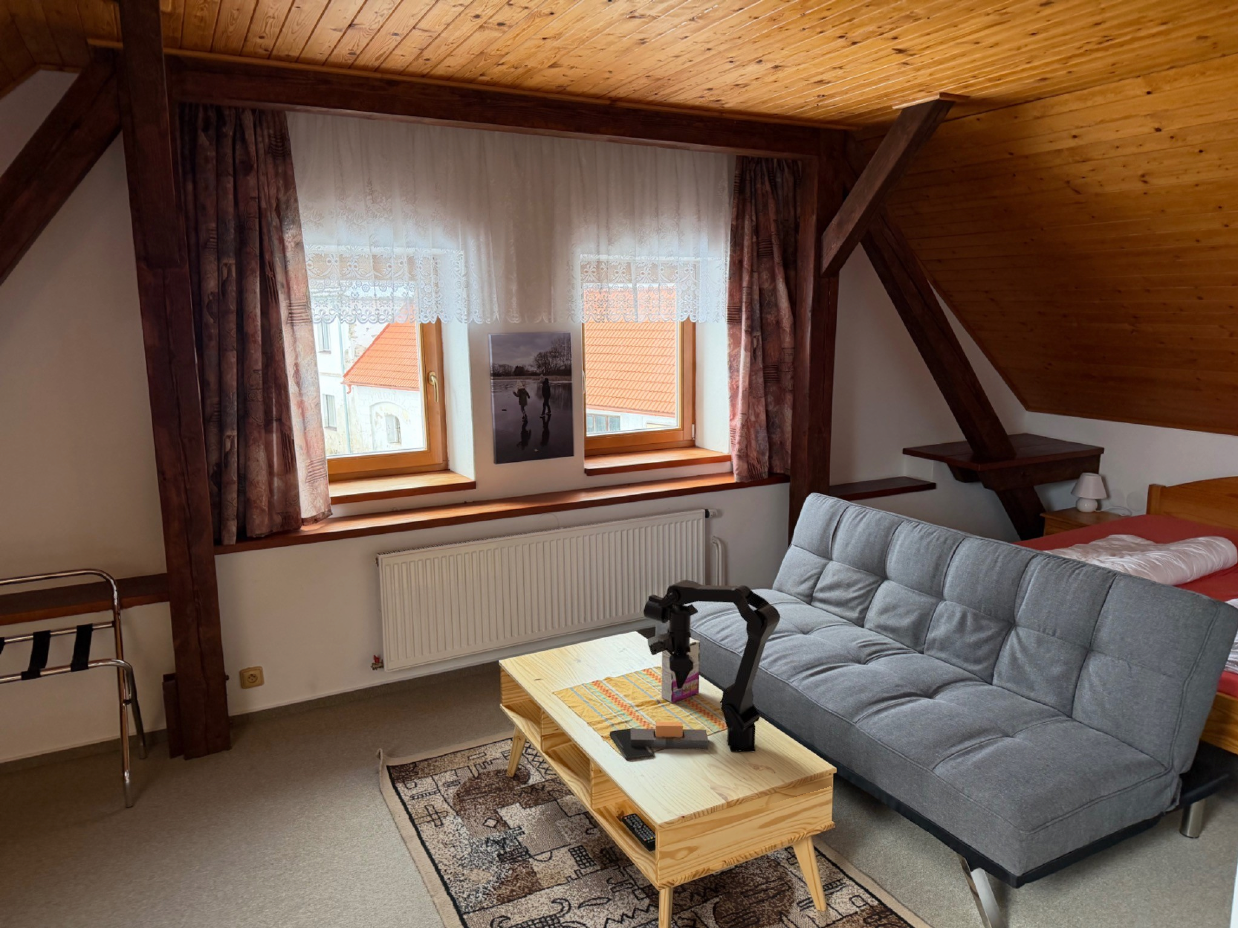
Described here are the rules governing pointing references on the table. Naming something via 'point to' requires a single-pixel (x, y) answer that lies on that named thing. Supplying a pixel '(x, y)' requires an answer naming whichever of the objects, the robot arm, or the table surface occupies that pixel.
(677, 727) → the clip
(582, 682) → the table surface
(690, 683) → the candy bar box
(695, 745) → the rail
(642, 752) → the phone
